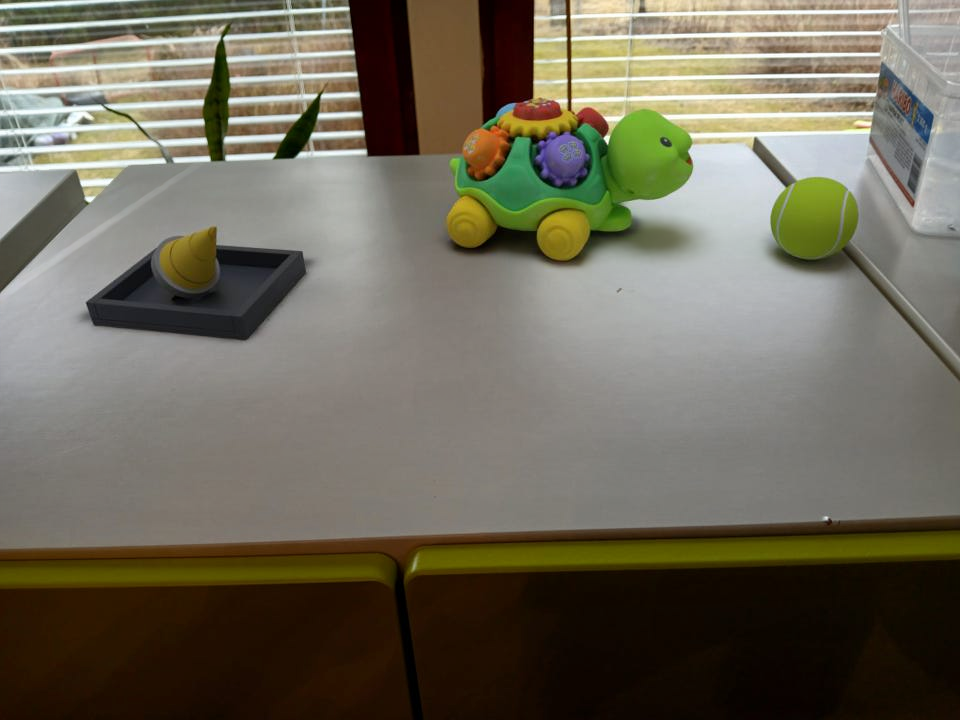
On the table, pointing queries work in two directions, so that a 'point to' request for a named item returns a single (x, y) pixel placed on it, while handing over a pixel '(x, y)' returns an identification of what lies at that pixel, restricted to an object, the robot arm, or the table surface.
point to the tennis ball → (814, 218)
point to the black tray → (221, 312)
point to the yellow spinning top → (187, 264)
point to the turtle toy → (562, 173)
